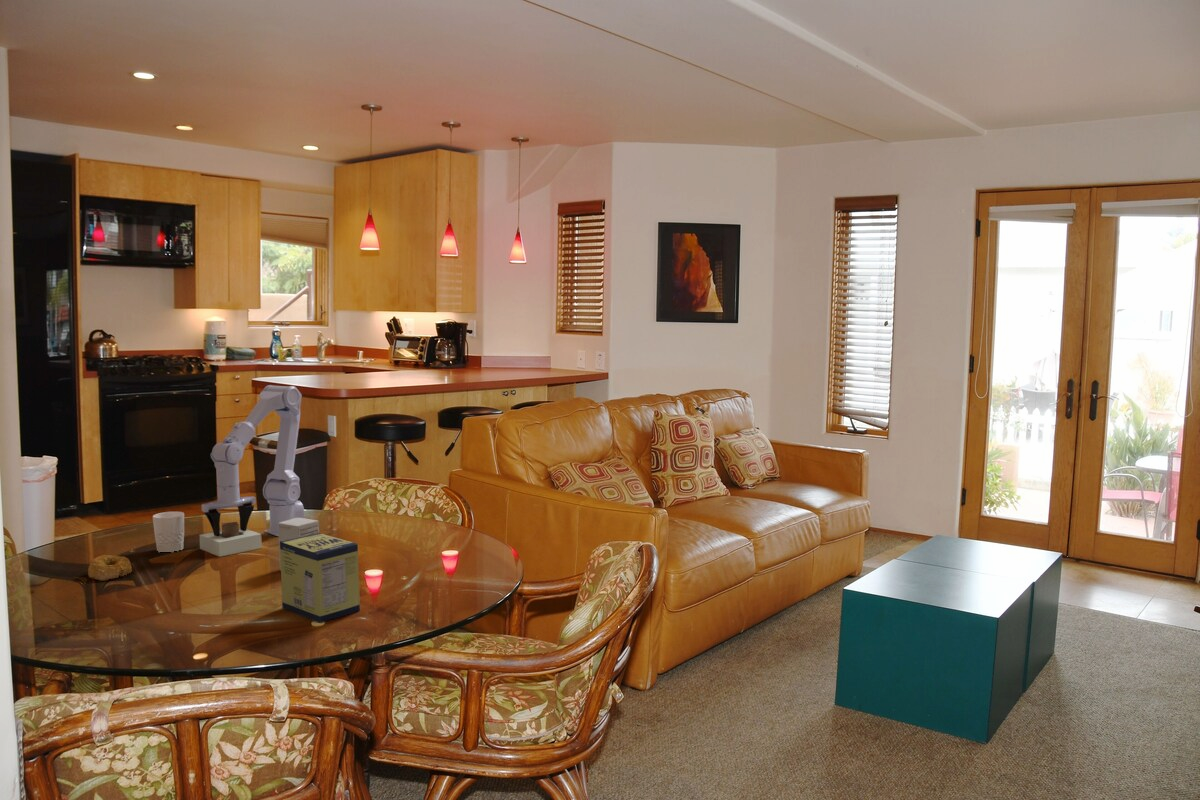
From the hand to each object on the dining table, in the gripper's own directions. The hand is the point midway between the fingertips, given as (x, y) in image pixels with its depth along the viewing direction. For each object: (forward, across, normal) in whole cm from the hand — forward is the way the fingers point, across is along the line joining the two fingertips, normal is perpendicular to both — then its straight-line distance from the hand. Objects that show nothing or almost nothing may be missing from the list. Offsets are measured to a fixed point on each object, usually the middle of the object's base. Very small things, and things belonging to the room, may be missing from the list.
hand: (230, 533), depth 252 cm
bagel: (+5, +32, +2) cm, 32 cm away
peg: (+4, 0, 0) cm, 4 cm away
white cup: (+5, +12, -11) cm, 17 cm away
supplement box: (+5, -3, +32) cm, 32 cm away
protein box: (+5, +10, +64) cm, 65 cm away
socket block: (+4, 0, 0) cm, 4 cm away
